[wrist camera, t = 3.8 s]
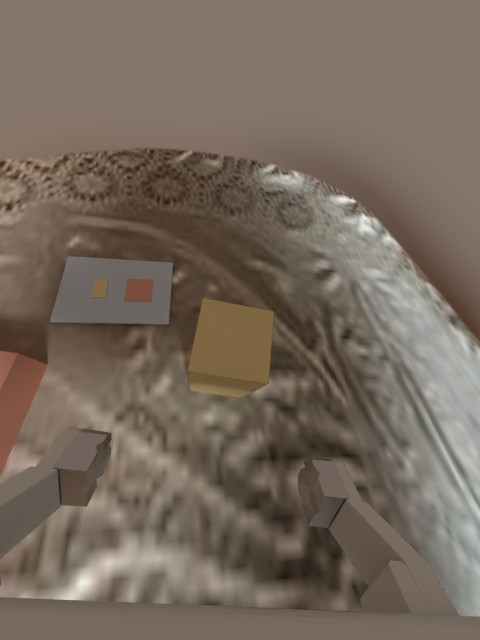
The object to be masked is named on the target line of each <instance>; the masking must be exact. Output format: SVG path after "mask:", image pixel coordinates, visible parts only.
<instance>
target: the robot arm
mask: <svg viewBox="0 0 480 640" xmlns="http://www.w3.org/2000/svg"><path fill="white" fill-rule="evenodd" d="M110 441H111V433H108V432H102V431H95V430H89V429H81V428H74V427H69V428H67V429H66V430H65V431H64V432H63V433H62V435H61V436H60V437H59V438H58V440H57V441H56V442H55V443H54V445H53V446H52V447H51V448H50V450H49V451H48V452H47V453H46V455H45V456H44V457H43V458H42V460H41V461H40V462H39V463H38V465H37V466H36V467H29V468H28V469H26V470H24V471H23V472H21V473H19V474H17V475H16V476H14V477H12V478H11V479H9V480H7V481H5V482H4V483H2V484H0V559H1V558H2V557H3V556H4V555H5V554H7V553H8V552H9V551H10V550H11V549H12V548H13V547H15V546H16V545H17V544H18V543H19V542H20V541H21V540H23V539H24V538H25V537H26V536H27V535H28V534H30V533H31V532H32V531H33V530H34V529H35V528H36V527H38V526H39V525H40V524H41V523H42V522H43V521H45V520H46V519H47V518H48V517H49V516H50V515H51V514H53V513H54V512H55V511H56V510H57V509H58V508H60V505H68V506H86V507H87V505H88V503H89V501H90V499H91V497H92V495H93V493H94V491H95V489H96V487H97V479H98V478H99V477H100V476H102V475H103V473H104V471H105V469H106V467H107V464H108V461H109V459H110V454H111V447H110V446H109V443H110ZM304 464H305V468H303V469H301V471H300V473H299V477H298V486H299V492H300V495H301V496H302V498H303V499H304V500H305V504H304V510H305V514H306V518H307V521H308V525H309V526H315V527H323V528H329V531H330V532H331V534H332V535H333V536H334V538H335V539H336V541H337V542H338V544H339V545H340V546H341V548H342V549H343V551H344V552H345V554H346V555H347V557H348V558H349V559H350V561H351V562H352V564H353V565H354V567H355V568H356V569H357V571H358V572H359V574H360V575H361V577H362V578H363V579H364V581H365V582H366V584H367V585H368V588H367V589H366V591H365V592H364V593H363V594H362V596H361V598H360V603H361V606H362V609H363V612H354V611H329V610H304V609H279V608H254V607H229V606H205V605H180V604H155V603H130V602H104V601H79V600H54V599H28V598H3V597H0V640H480V617H478V616H459V615H458V613H457V611H456V610H455V608H454V606H453V605H452V603H451V601H450V600H449V598H448V596H447V595H446V593H445V591H444V589H443V588H442V586H441V584H440V583H439V581H438V579H437V578H436V576H435V574H434V572H433V571H432V569H431V567H430V566H429V564H428V562H427V561H426V560H425V559H424V558H423V557H422V556H421V555H420V554H419V553H418V552H417V551H416V550H415V549H414V548H413V547H412V546H411V545H410V544H409V543H408V542H407V541H405V540H404V539H403V538H402V537H401V536H400V535H399V534H398V533H397V532H396V531H395V530H394V529H393V528H392V527H391V526H390V525H389V524H388V523H387V522H386V521H385V520H384V519H383V518H382V517H381V516H380V515H379V514H378V513H377V512H376V511H375V510H374V509H373V508H372V507H371V506H370V505H369V504H368V503H367V502H366V501H362V499H361V497H360V495H359V493H358V491H357V489H356V487H355V485H354V483H353V481H352V479H351V477H350V475H349V473H348V471H347V469H346V467H345V465H344V463H343V462H342V461H338V460H329V459H323V458H313V457H308V458H306V460H305V462H304ZM0 585H1V578H0Z"/></svg>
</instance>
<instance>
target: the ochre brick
mask: <svg viewBox="0 0 480 640" xmlns="http://www.w3.org/2000/svg"><path fill="white" fill-rule="evenodd" d="M273 317H274V311H269V310H263V309H258V308H253V307H248V306H243V305H237V304H232V303H227V302H222V301H217V300H211V299H206V298H203V301H202V305H201V310H200V315H199V319H198V324H197V329H196V333H195V338H194V343H193V347H192V352H191V357H190V361H189V366H188V378H189V385H190V391H195V392H202V393H208V394H215V395H222V396H229V397H236V398H242V397H244V396H246V395H248V394H250V393H252V392H254V391H256V390H257V389H259V388H261V387H263V386H265V385H267V384H269V374H270V360H271V345H272V331H273Z"/></svg>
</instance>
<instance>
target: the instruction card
mask: <svg viewBox="0 0 480 640" xmlns="http://www.w3.org/2000/svg"><path fill="white" fill-rule="evenodd" d="M172 275H173V263H171V262H155V261H139V260H123V259H106V258H90V257H74V256H68V258H67V262H66V266H65V269H64V273H63V276H62V280H61V283H60V287H59V291H58V294H57V298H56V301H55V305H54V308H53V312H52V316H51V319H50V322H51V323H77V324H137V325H169V318H170V304H171V289H172Z"/></svg>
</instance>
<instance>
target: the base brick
mask: <svg viewBox="0 0 480 640" xmlns="http://www.w3.org/2000/svg"><path fill="white" fill-rule="evenodd" d="M47 365H48V364H45V363H42V362H40V361H37V360H35V359H32V358H29V357H27V356H24V355H22V354H19V353H13V352H5V351H0V475H1V473H2V471H3V468H4V466H5V464H6V461H7V459H8V457H9V454H10V452H11V450H12V447H13V445H14V443H15V440H16V438H17V436H18V433H19V431H20V428H21V426H22V424H23V421H24V419H25V417H26V414H27V412H28V410H29V407H30V405H31V403H32V400H33V398H34V396H35V393H36V391H37V389H38V386H39V384H40V382H41V379H42V377H43V375H44V372H45V370H46V368H47Z"/></svg>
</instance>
